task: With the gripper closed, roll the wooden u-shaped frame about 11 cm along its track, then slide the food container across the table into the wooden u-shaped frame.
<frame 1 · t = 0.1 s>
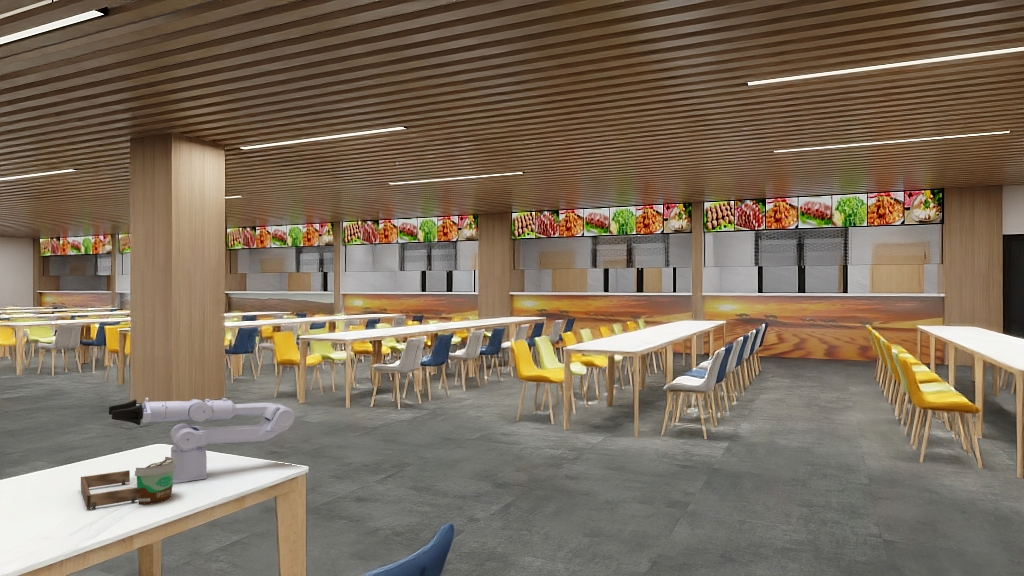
hand: (110, 412, 197), 22 cm above the table, tool horizontal, fingers open, 7 cm apart
food container: (161, 500, 189), on the table
wooden u-shaped frame: (109, 488, 192), point 2 cm above the table, slide at 0.0 cm
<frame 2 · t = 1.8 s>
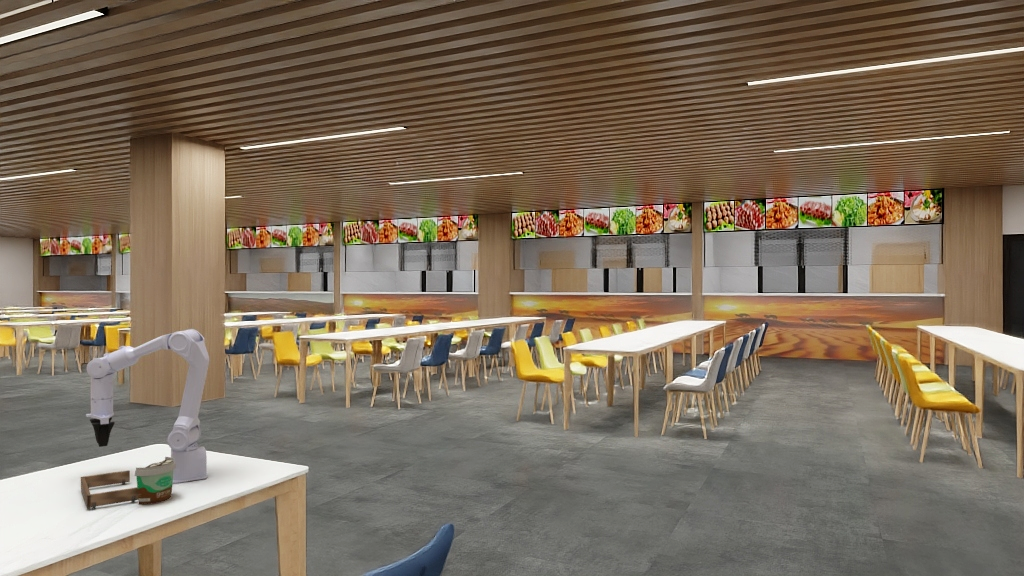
hand: (102, 444, 206), 10 cm above the table, tool pointing down, fingers open, 5 cm apart
nothing on the table moved.
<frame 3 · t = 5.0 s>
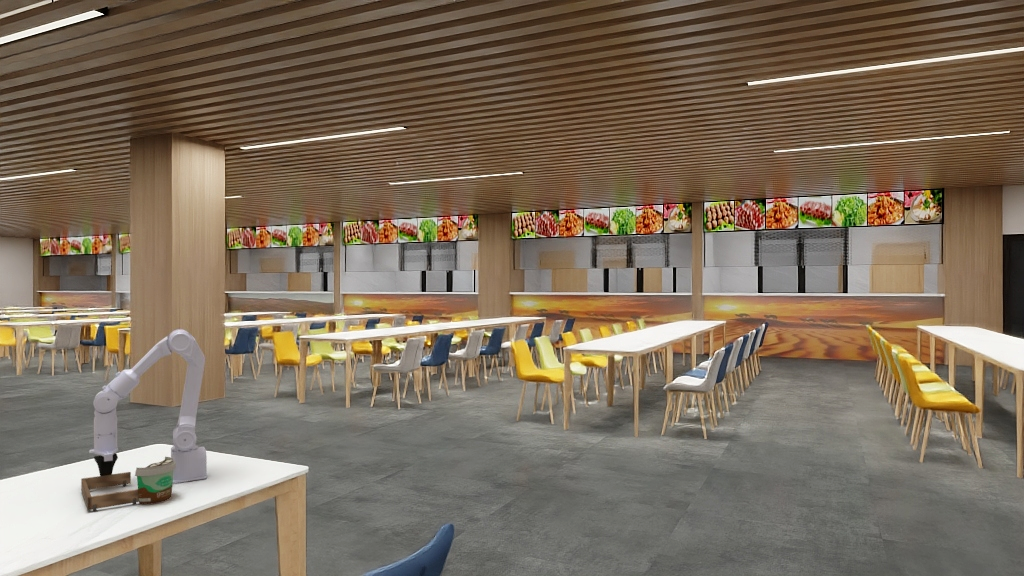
hand: (105, 480, 199), 2 cm above the table, tool pointing down, fingers closed
wooden u-shaped frame: (110, 490, 190), point 2 cm above the table, slide at 2.0 cm, touching gripper
everything else where it was.
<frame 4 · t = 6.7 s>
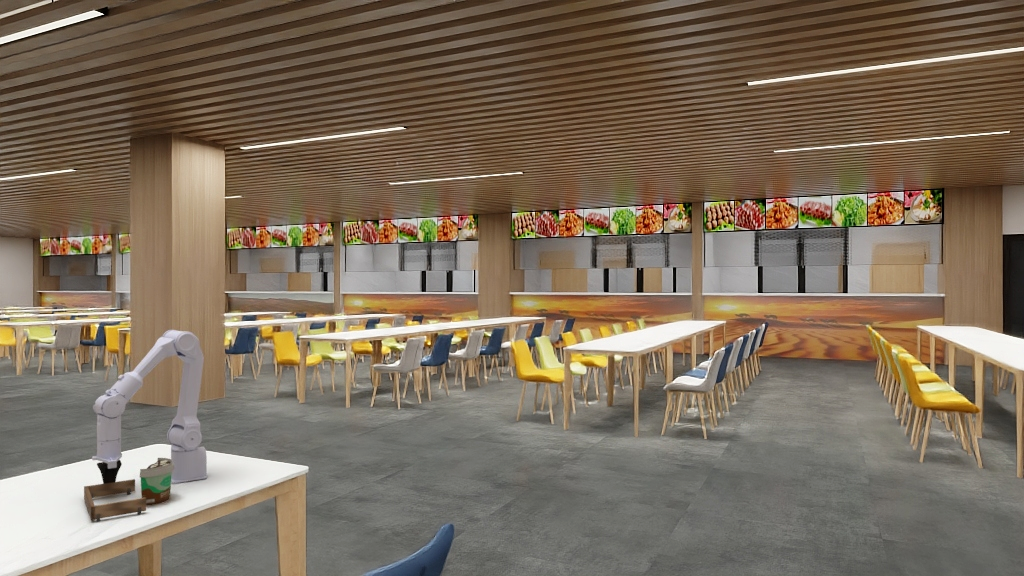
hand: (109, 488, 192), 2 cm above the table, tool pointing down, fingers closed
wooden u-shaped frame: (114, 499, 183), point 2 cm above the table, slide at 10.6 cm, touching gripper
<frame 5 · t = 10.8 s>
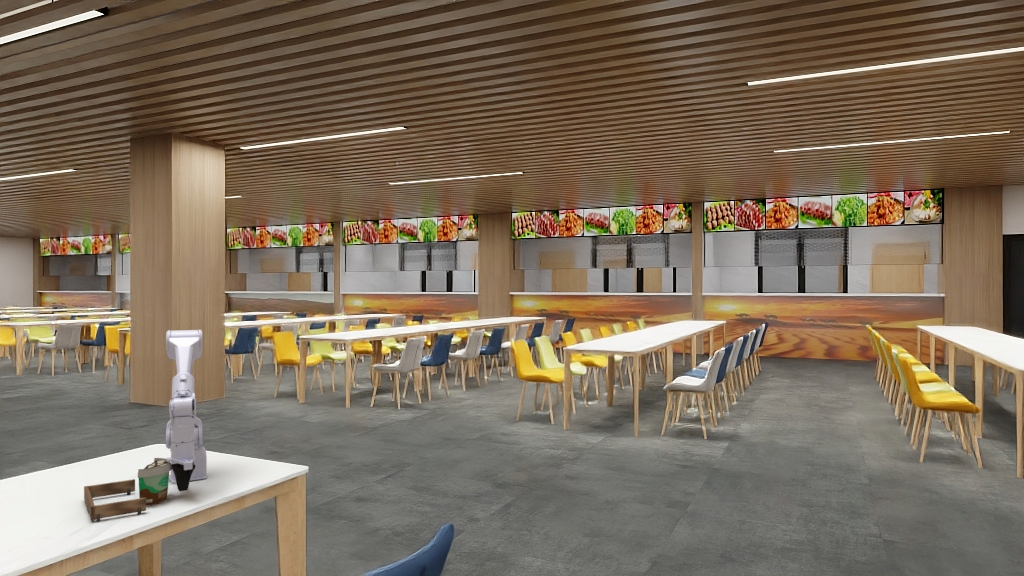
hand: (182, 490, 192), 2 cm above the table, tool pointing down, fingers closed
food container: (158, 500, 189), on the table, touching gripper
wooden u-shaped frame: (114, 499, 183), point 2 cm above the table, slide at 10.6 cm
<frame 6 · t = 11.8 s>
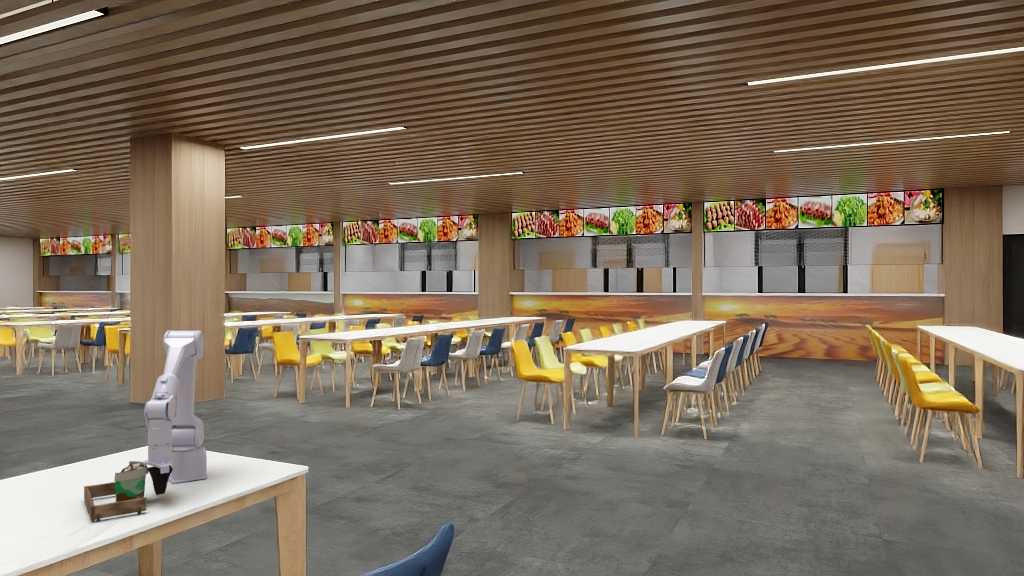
hand: (160, 493, 189), 2 cm above the table, tool pointing down, fingers closed
food container: (135, 504, 185), on the table, touching gripper
everything else where it was.
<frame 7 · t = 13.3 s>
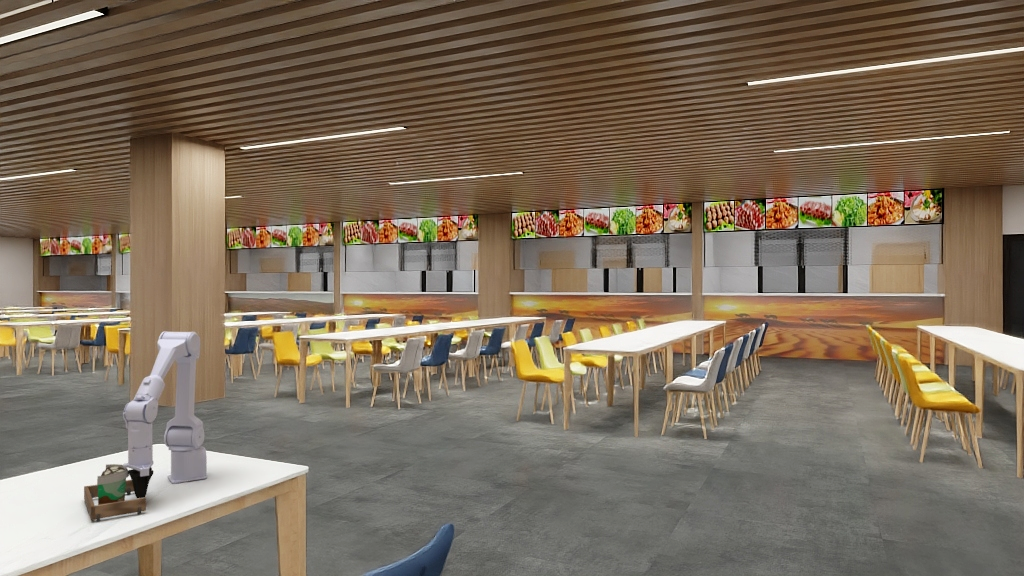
hand: (140, 496, 186), 2 cm above the table, tool pointing down, fingers closed
food container: (115, 508, 183), on the table, touching gripper
everything else where it was.
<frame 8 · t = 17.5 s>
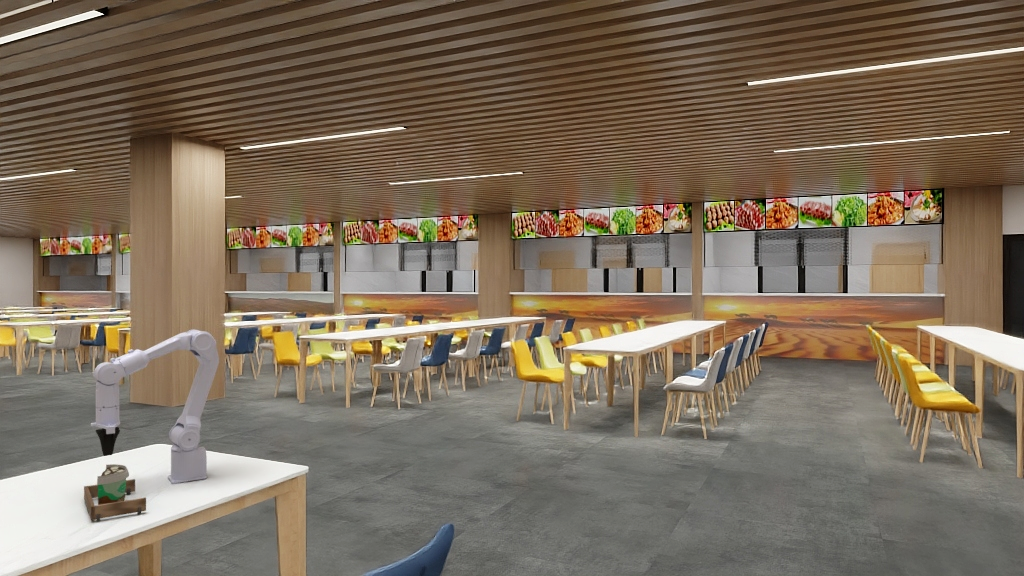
hand: (107, 454, 195), 10 cm above the table, tool pointing down, fingers closed
food container: (115, 508, 182), on the table
everything else where it was.
at the end: wooden u-shaped frame slide at 10.6 cm; food container inside the target area on the wooden u-shaped frame (1.3 cm from its centre), point 0.0 cm above the wooden u-shaped frame's base; food container tilted 0° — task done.
